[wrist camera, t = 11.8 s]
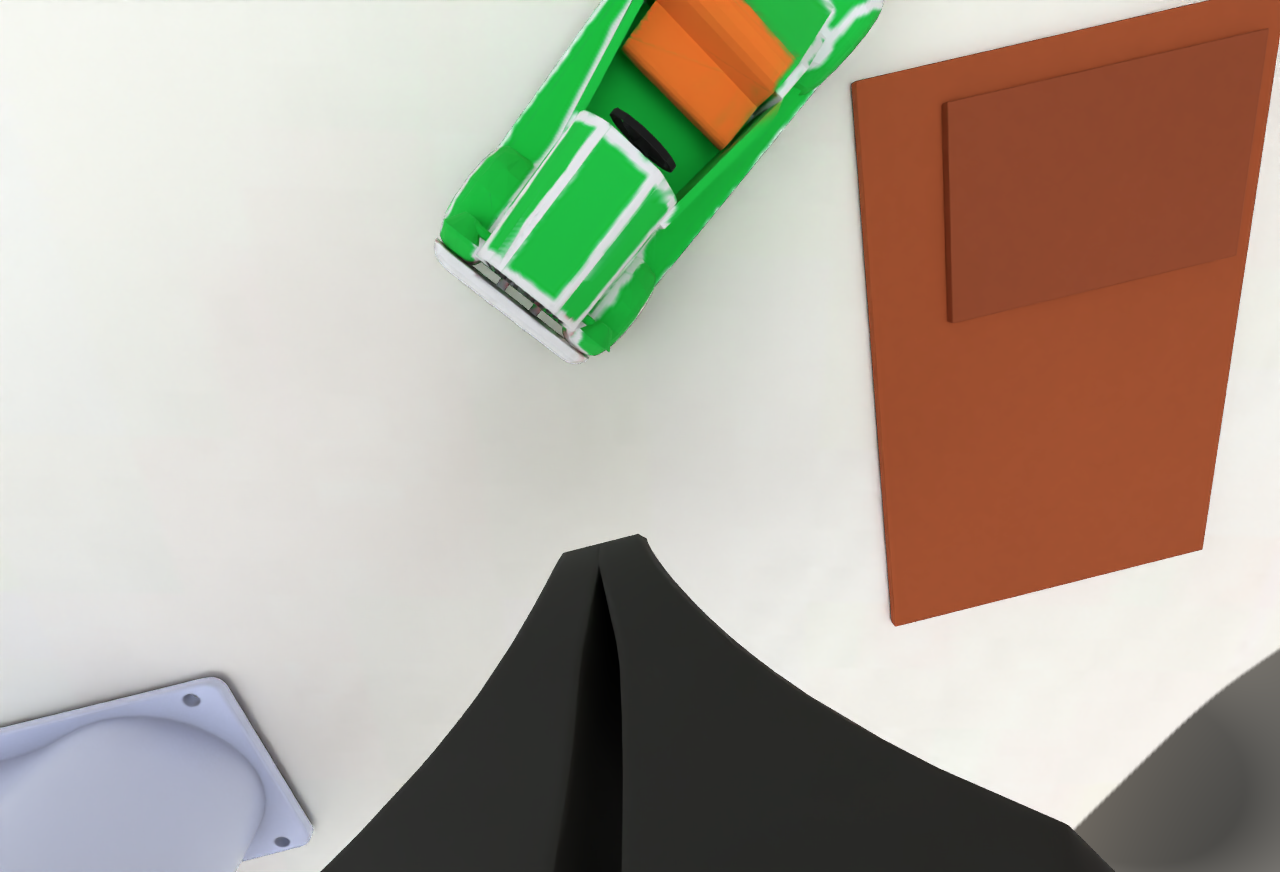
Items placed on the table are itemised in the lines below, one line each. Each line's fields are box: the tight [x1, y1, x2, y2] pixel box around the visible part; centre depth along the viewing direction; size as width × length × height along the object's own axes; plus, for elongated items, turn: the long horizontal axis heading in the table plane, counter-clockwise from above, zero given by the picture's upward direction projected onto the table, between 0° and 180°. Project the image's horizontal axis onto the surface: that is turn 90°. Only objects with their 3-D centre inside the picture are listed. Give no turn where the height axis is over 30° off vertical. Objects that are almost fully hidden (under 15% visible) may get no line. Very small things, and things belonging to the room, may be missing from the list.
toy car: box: [434, 0, 884, 364], centre depth 14 cm, size 12×5×4 cm, turn 140°
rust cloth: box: [851, 0, 1280, 626], centre depth 19 cm, size 12×18×1 cm, turn 12°
